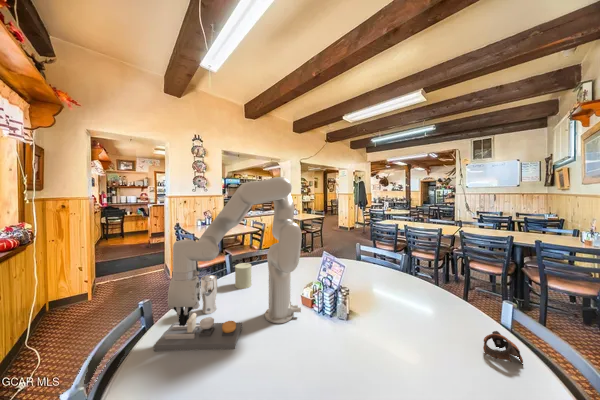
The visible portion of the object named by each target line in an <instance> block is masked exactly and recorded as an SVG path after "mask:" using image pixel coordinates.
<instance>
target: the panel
mask: <svg viewBox="0 0 600 400" xmlns="http://www.w3.org/2000/svg"><path fill="white" fill-rule="evenodd" d="M223 323H224V322H214V325H213V326H212V327H211V328H209V329H207V330H206V329H201V328H200V322H198V323H197V322H196V327H195V328H198V330H197V332H196V333H195V334H186V332H187V323H186V324H185V326H179V323H172V324H171V325H170V326H169V328H167V330H166V331H165V332H164V333H163V334H162V335H161V337H160V338H159V339H158V340H157V341H156V343H155V344H154V345H153V351H154V352H161V351H163V352H164V351H165V352H168V351H169V352H171V351H201V350H202V351H204V350H205V351H206V350H207V351H208V350H213V351H214V350H236V347H237V345H238V341H239V337H240V334H241V332H242V329H243V322H236V329H235V330H234V331H233V332H230V333H224V332H223V331H222V325H223Z"/></svg>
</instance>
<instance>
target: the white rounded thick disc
mask: <svg viewBox="0 0 600 400" xmlns="http://www.w3.org/2000/svg"><path fill="white" fill-rule="evenodd" d="M199 323H200V328H201V329H206V330H207V329H209V328H211V327H212V326H213V325H214V323H215V318H214V317H211V316H208V317H204V318H202V319H201V320H200V321H199Z"/></svg>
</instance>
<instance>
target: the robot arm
mask: <svg viewBox="0 0 600 400" xmlns="http://www.w3.org/2000/svg"><path fill="white" fill-rule="evenodd" d="M292 189H293V187H292V183H291V181H290V180H289V179H288V178H286V177H284V176H278V177H276V176H275V177H270V178H269V179H268V178H267V179H262V180H257V181H248V182H244V183H241V185H239V186H238V187H237V189H236V191H234V193H233V195H232V196H231V197H230V199H229V200H228V201H227V202H226V204H225V205H224V207H223V208H222V209H221V211H220V212H219V213H218V214H217V216H216V217H215V218H214V219H213V220H212V222H211V223H210V224H209V225H208V227H207V228H206V229H205V230H204V232H203V233H202V235H201V236H200V237H199V239H198V241H195V240H194V239H180V240H177V241H175V242H174V243H173V246H172V277H171V279H170V282H169V285H168V286H169V287H168V292H167V305H168V307H167V308H168V309H170V310H174V311H175V312H176V315H177V316H178V324H179V326H185V324H187V320H188V319H189V317H190V312H191V311H193V310H197V309H199V308H200V303H199V302H200V301H201V299H202V296H201V282H200V277H199V276H200V274H201V273H200V271H198V270H197V262H198V261H199V262H209V261H210V262H211V261H213V260H215V259H216V258H218V256H219V253H220V246H219V244H220V242H221V241H222V240H223V238H224V237H225V235H226V234H227V233H228V232H229V231H231V230H232V229H234V228H235V227H237V226H238V225H239V224H240V223H242V220H244V218H245V216H246V215H247V214H248V212H249V211H250V209H251V208H252V207H253V205H260V204H266V203H269V202H273V206H274V207H273V210H274V211H273V218H272V219H273V221H272V229H271V234H272V236H273V238H274V239H275V240H277V241H278V242H276V243H273V244H272V245H270V247H269V248H268V250H267V254H266V258H267V259H266V260H267V266H268V267H267V268H268V308H267V309H266V310H265V312H264V317H265V320H267V321H268V322H270V323H273V324H284V323H287V322H290V321H291V320H292V319H293V318H294V315H295V313H302V312H301V311H302V309H301V307H298V304H295V305H293V304H292V301H291V290H292V289H291V287H292V286H291V285H292V284H291V278H292V276H291V274H292V273H293V272H294V271H295V270H296V269H297V268H298V265H299V262H300V259H301V250H302V241H303V240H302V238H303V235H302V229H301V226H300V225H299V224H298V223H296V222H294V218H295V217H294V214H295V203H294V199H293V196H292V195H291V192H292Z"/></svg>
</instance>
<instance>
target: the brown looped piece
mask: <svg viewBox="0 0 600 400" xmlns="http://www.w3.org/2000/svg"><path fill="white" fill-rule="evenodd" d="M489 340H492V342H493V344H494V346H495V348H496V347H499V348H498V349H500V348H502V349H503V350H496V349H493V348H491V347H490V346H489V345H488V341H489ZM483 352H485V353H486V354H485V353H484V354H485V355H487V356H489V357H491V358H493V359H495V360H501V361H502V360H505V361H506V360H507V361H508V362H512V358H511V356H514V357H515V356H517V357H519V359H520V360H519V359H518V360H519V362H520V361H521V362H522V363H523V364H524V359H523V357H522V355H521V351H520V349H519V347H518V346H517V345H516V344H515V343H514V342H512V341H511V340H509V339H508V337H506V336H504V335H502V334H501V333H500V332H499V331H498V330H494V331H492V333H491V334H488V335H485V337H484V338H483ZM517 357H516V358H517ZM521 362H520V363H521Z"/></svg>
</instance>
